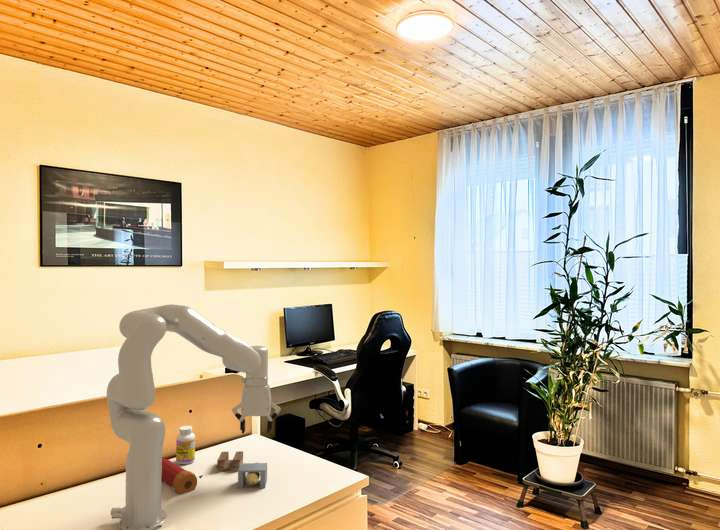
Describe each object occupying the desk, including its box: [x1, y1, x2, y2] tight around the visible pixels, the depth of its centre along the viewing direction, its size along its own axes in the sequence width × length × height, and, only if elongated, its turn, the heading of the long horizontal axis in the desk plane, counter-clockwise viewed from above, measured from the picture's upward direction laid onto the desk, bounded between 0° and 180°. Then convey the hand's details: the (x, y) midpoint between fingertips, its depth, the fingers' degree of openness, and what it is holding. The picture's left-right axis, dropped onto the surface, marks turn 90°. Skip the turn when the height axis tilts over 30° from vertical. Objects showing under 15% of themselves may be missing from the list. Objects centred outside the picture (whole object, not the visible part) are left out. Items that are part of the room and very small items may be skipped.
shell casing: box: [162, 457, 198, 495], centre depth 170 cm, size 7×20×7 cm, turn 45°
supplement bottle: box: [175, 425, 196, 465], centre depth 190 cm, size 7×7×13 cm
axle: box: [246, 472, 260, 486], centre depth 173 cm, size 14×4×4 cm, turn 5°
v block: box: [216, 450, 244, 473], centre depth 184 cm, size 8×8×5 cm
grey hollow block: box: [237, 462, 268, 489], centre depth 169 cm, size 6×9×7 cm
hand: (256, 431), depth 177 cm, fingers open, 8 cm apart
